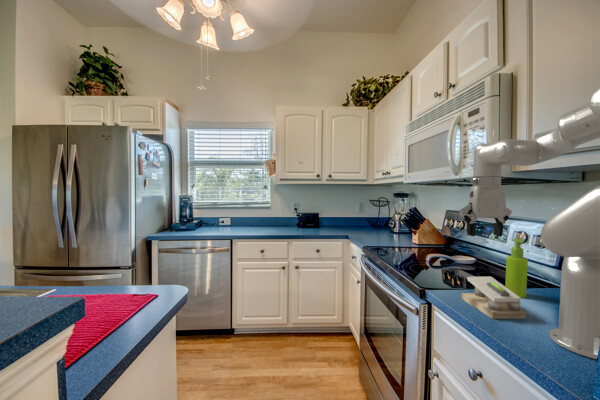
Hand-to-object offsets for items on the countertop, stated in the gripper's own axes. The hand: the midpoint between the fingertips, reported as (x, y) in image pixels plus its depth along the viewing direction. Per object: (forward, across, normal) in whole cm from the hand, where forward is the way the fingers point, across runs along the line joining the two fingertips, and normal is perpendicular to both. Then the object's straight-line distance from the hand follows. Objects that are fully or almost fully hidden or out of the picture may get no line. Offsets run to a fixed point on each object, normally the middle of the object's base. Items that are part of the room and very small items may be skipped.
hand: (484, 235), depth 88 cm
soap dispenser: (+23, +17, +6) cm, 29 cm away
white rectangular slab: (+16, 0, -4) cm, 17 cm away
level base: (+22, 0, -4) cm, 23 cm away
